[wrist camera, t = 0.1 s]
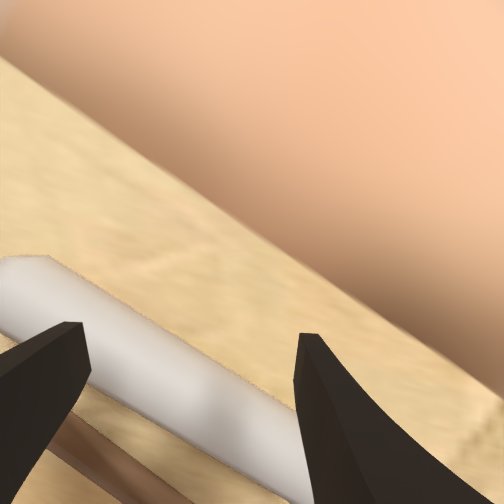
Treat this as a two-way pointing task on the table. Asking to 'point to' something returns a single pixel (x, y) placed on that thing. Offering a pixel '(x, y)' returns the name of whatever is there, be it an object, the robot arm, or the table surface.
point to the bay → (110, 465)
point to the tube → (160, 375)
